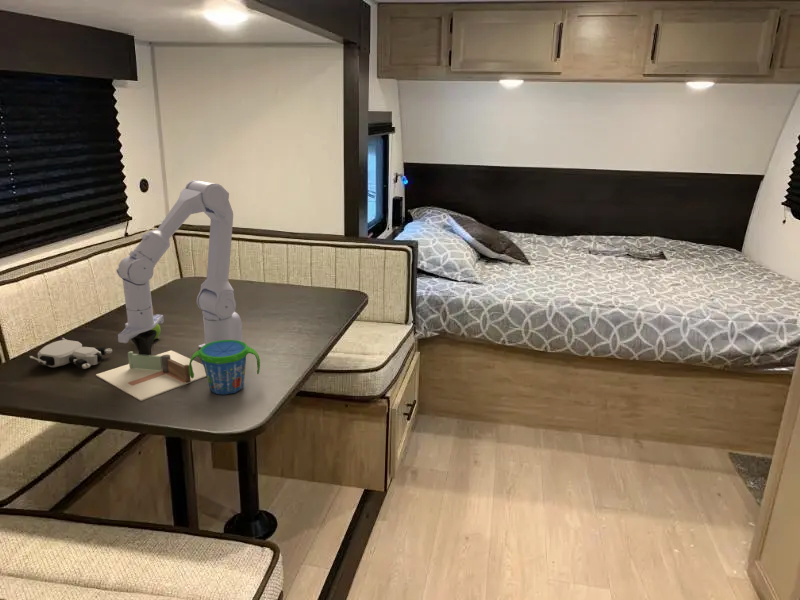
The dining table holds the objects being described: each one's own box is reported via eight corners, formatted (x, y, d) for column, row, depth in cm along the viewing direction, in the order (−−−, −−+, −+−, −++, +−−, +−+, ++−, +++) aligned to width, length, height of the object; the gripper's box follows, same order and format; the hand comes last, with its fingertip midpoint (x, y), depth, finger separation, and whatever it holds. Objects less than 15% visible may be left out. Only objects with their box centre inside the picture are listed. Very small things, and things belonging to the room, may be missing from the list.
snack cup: (186, 399, 136) (182, 357, 133) (197, 379, 146) (193, 339, 143) (257, 398, 137) (255, 356, 134) (263, 378, 147) (262, 338, 144)
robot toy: (116, 359, 158) (61, 351, 160) (115, 343, 157) (60, 335, 158) (87, 379, 147) (28, 370, 148) (86, 362, 145) (26, 353, 147)
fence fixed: (168, 368, 150) (167, 353, 149) (193, 380, 144) (191, 365, 143) (161, 371, 149) (159, 356, 148) (185, 383, 143) (184, 367, 142)
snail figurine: (150, 333, 173) (146, 293, 169) (165, 338, 170) (161, 297, 166) (133, 339, 169) (128, 298, 165) (149, 344, 166) (144, 302, 162)
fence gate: (131, 366, 151) (129, 351, 149) (163, 368, 150) (161, 353, 148) (128, 368, 149) (126, 353, 148) (160, 370, 148) (159, 355, 147)
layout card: (171, 351, 162) (171, 349, 161) (217, 372, 150) (217, 370, 150) (96, 375, 146) (95, 374, 146) (141, 401, 135) (140, 399, 135)
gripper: (143, 296, 153) (149, 346, 157) (103, 315, 140) (111, 369, 144) (168, 299, 152) (174, 349, 156) (130, 318, 138) (137, 373, 142)
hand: (145, 359), depth 150 cm, fingers closed, pressing on fence gate
